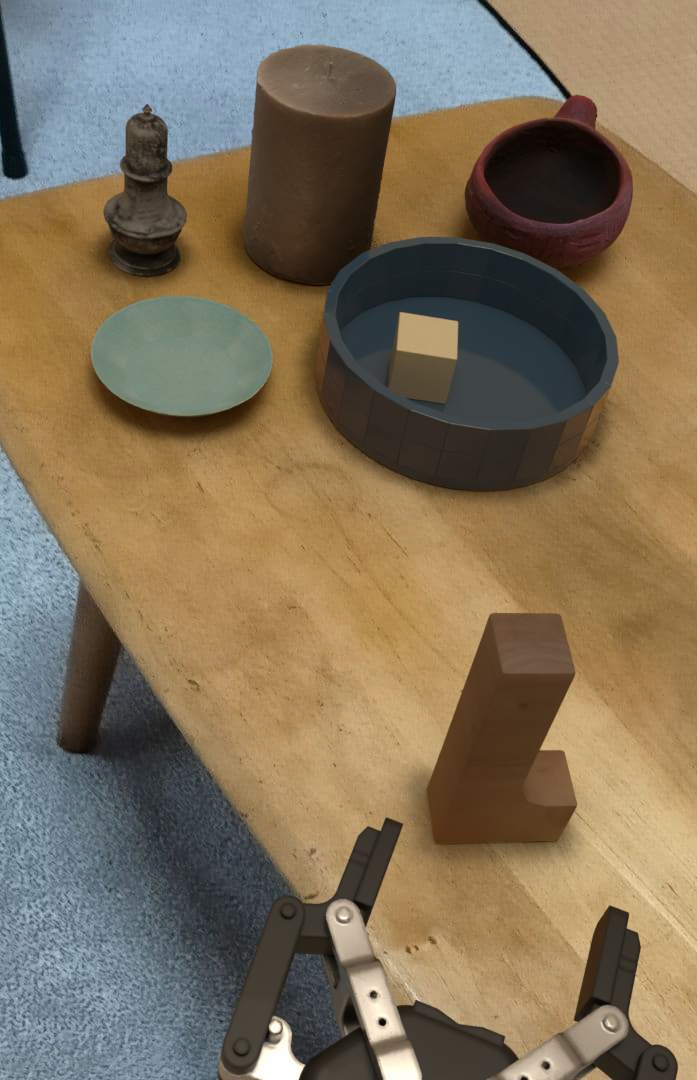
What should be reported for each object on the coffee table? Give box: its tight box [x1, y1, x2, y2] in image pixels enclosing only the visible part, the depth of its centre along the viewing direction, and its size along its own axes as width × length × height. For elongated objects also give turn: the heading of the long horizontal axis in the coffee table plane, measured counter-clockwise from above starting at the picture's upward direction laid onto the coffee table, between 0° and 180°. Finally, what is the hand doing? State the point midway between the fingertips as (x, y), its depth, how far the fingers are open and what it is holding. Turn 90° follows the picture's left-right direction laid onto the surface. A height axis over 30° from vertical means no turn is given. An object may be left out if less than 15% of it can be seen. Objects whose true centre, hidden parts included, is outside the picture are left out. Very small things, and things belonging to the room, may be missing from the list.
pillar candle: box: [243, 43, 397, 286], centre depth 88 cm, size 10×10×15 cm
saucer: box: [90, 295, 274, 418], centre depth 82 cm, size 12×12×2 cm
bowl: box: [464, 94, 634, 269], centre depth 96 cm, size 16×13×8 cm
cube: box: [388, 312, 458, 404], centre depth 83 cm, size 4×4×4 cm
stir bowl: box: [314, 236, 620, 492], centre depth 84 cm, size 20×20×6 cm
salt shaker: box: [102, 103, 188, 278], centre depth 86 cm, size 6×6×12 cm
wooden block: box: [426, 612, 578, 844], centre depth 58 cm, size 7×3×15 cm, turn 95°
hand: (500, 873), depth 45 cm, fingers open, 8 cm apart
